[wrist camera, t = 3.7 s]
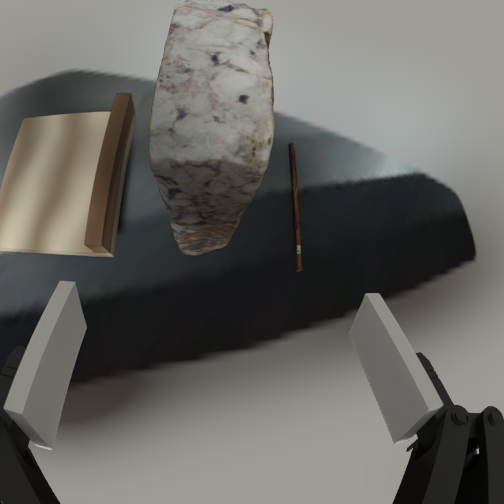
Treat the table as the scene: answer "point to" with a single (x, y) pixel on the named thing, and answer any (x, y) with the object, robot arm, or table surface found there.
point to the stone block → (212, 119)
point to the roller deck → (67, 182)
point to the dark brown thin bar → (295, 208)
